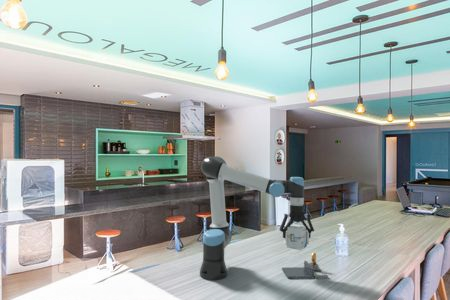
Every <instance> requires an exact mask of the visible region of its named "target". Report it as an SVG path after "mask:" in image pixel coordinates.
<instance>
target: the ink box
mask: <svg viewBox="0 0 450 300" xmlns="http://www.w3.org/2000/svg"><path fill="white" fill-rule="evenodd" d="M286 232H287V245H286V248H288V249H292V250H297V251H302V250H303V249H305V248H307V247H308V245H307V232H308V231H307V229H306V227H305V226H304V225H303V224H302V225H301V224H294V223H292V224H291V225H290V227H288V229H287V231H286Z"/></svg>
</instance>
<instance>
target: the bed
mask: <svg viewBox="0 0 450 300" xmlns="http://www.w3.org/2000/svg"><path fill="white" fill-rule="evenodd" d="M309 263H310V262H308V261H307V260H304V262H303V266H302V267H299V266H298V267H297V266H296V267H290V266H289V267H288V266H287V267H281V270H282V272H283V273H284V275H285V277H286V278H287V279H288V280H294V279H295V280H297V279H301V280H304V279H306V280H307V279H315V278H314V274H315V271H314V269H313V268H312V267H311V265H310V264H309Z"/></svg>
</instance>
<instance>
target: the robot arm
mask: <svg viewBox="0 0 450 300" xmlns="http://www.w3.org/2000/svg"><path fill="white" fill-rule="evenodd" d="M200 170H201V172H202V173H203V174H204V175H205V179H206V181H207V182H208V184H209V197H210V198H209V199H210V212H211V213H210V214H211V223H210V225H209V229H208V230H206V231H205V232H204V233H203V238H202V242H203V243H202V244H203V247H202V263H201V265H200V268H199V277H201V278H202V279H204V280H211V281H218V280H222V279H225V278H227V276H228V269H227V265H226V261H225V250H226V248H227V246H228V245H229V244H230V243H231V241H232V238H233V237H232V236H233V234H232V232H231V229H230V224H229V223H228V222H227V214H226V213H227V212H226V211H227V210H226V199H225V185H224V182H225V180H226V181H228V182H231V183H233V184H234V183H235V184H238V185H240V186H242V187H243V186H244V187H246V188H250V189H252V190H257V191H259V192H262V193H266V194H267V195H270V196H272V197H274V198H279V197H281V196H283V195H284V194H285V195H289V204H290V205H289V213H283V219H282V221H281V224H280V227H279V231H280V232H281V233H282V238H283V239H284V241H283V242H284V245H286V246H287V229H288V227H290V225H292V224H294V222H295V223H297V222H301V224H302V225H303V226H305V227H306V229H307V246H308V245H310V239H311V234H312V232H314V231H315V229H314V226H313V224H312V221H311V219H310V217H311V216H310V214H309V213H305V207H304V206H305V180H304V178H303V176H302V177H300V176H291V177H290V178H289V179H288V180H286V179H285V180H283V179H269V178H266V177H264V176H260V175H257V174H253V173H251V172H248V171H245V170H241V169H238V168H235V167H233V166H229V165H227V162H226V160H225V159H224V158H222V157H220V156H207V157H205V158H204V159H203V160H202V162H201V165H200ZM288 218H289V220H288ZM304 218H305V219H306V220H307V223H308V225H307V224H306V222H305V220H304ZM287 221H288V222H287Z"/></svg>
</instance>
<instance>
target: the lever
mask: <svg viewBox="0 0 450 300" xmlns="http://www.w3.org/2000/svg"><path fill="white" fill-rule="evenodd" d="M308 263H309V264H310V265H311V267H312V268H313V269H314V272H315V271H319V270H318V267H319V264H318V263H317V253H316V252H312V253H311V262H308Z"/></svg>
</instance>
